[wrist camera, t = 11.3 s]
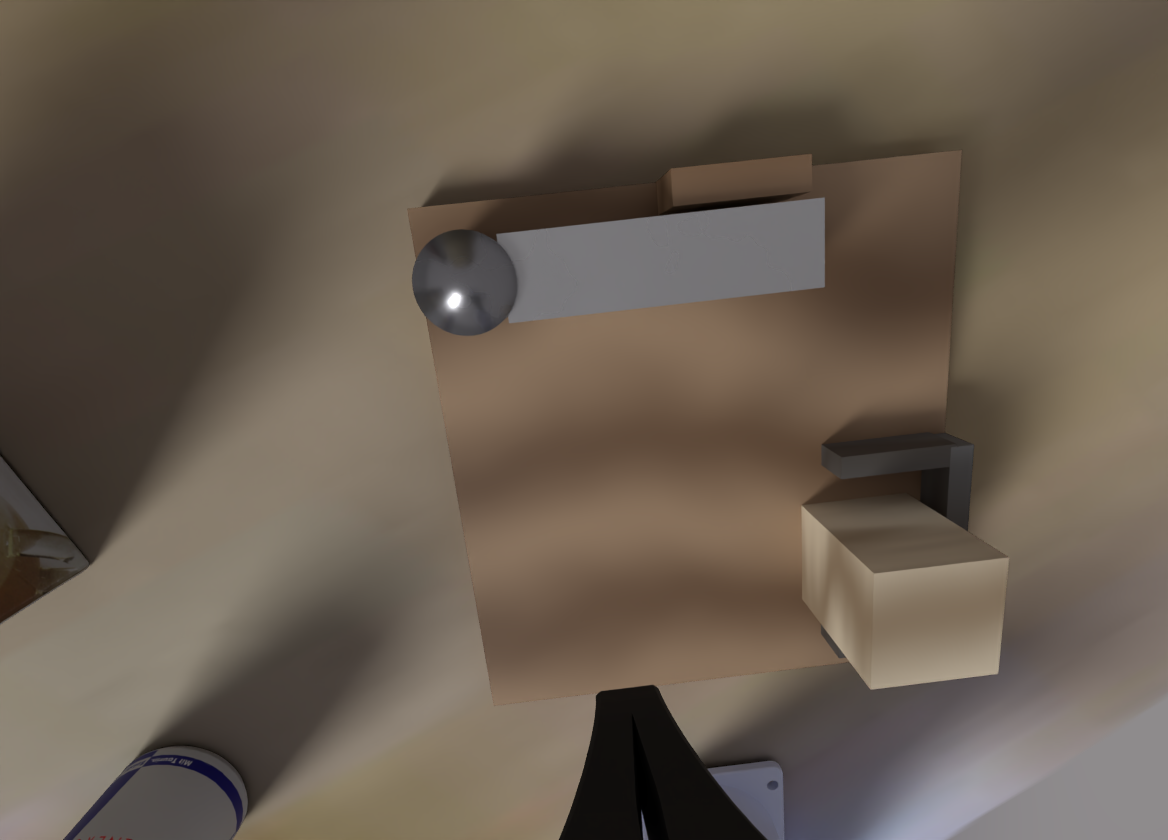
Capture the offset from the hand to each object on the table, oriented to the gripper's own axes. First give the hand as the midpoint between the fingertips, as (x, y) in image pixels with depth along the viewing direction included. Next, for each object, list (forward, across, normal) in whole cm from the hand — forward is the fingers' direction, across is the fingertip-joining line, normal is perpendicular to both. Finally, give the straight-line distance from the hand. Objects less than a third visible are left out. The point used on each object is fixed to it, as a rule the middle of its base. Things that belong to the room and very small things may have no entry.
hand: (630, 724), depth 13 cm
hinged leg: (+9, -1, -10) cm, 13 cm away
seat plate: (+10, -4, -3) cm, 11 cm away
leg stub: (+9, -10, +1) cm, 13 cm away
